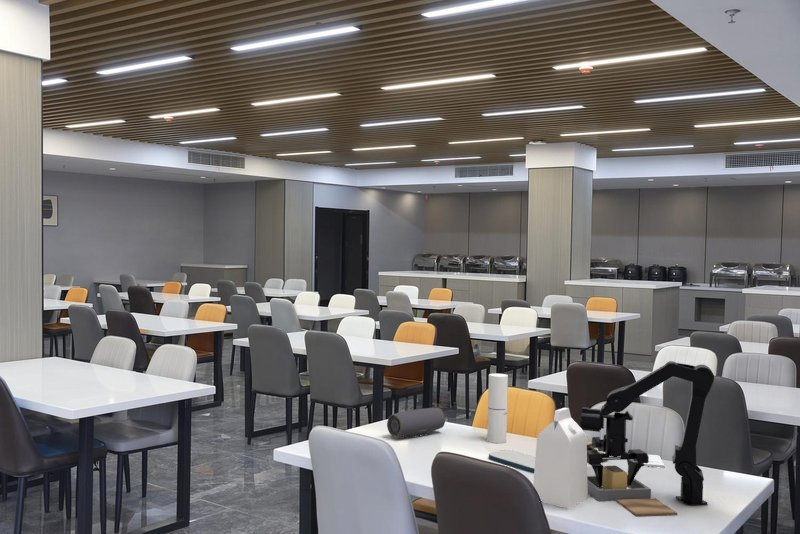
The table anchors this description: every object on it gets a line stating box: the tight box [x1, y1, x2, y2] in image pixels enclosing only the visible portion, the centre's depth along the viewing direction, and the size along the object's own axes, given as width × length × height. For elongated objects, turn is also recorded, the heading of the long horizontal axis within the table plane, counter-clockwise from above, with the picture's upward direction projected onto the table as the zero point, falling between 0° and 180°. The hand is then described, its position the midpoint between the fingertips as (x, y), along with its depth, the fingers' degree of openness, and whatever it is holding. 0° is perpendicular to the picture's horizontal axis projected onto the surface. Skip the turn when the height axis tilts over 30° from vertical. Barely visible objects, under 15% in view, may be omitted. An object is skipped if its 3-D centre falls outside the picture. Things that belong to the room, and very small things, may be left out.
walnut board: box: [616, 497, 678, 517], centre depth 207 cm, size 12×12×1 cm
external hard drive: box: [488, 449, 536, 474], centre depth 249 cm, size 24×12×2 cm, turn 40°
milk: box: [532, 407, 589, 510], centre depth 213 cm, size 12×12×26 cm
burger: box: [587, 440, 605, 454], centre depth 257 cm, size 12×12×8 cm
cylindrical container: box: [486, 373, 509, 444], centre depth 278 cm, size 7×7×25 cm
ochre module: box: [601, 465, 628, 489], centre depth 220 cm, size 7×4×7 cm, turn 9°
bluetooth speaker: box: [386, 407, 446, 438], centre depth 285 cm, size 23×9×10 cm, turn 130°
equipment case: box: [587, 466, 652, 502], centre depth 227 cm, size 28×16×3 cm, turn 9°
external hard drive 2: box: [644, 454, 666, 469], centre depth 254 cm, size 2×8×12 cm
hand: (614, 485), depth 220 cm, fingers open, 9 cm apart
